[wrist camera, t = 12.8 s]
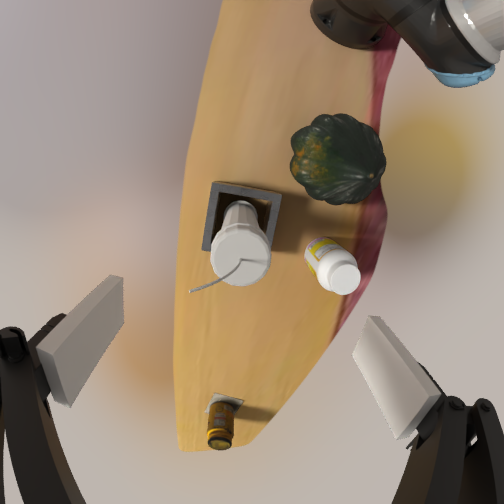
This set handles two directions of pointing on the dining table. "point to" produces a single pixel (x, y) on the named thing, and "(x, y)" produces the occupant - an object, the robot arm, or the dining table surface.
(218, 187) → the collar
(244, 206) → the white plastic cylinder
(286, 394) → the dining table surface
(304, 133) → the squash
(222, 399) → the condiment
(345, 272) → the supplement bottle
